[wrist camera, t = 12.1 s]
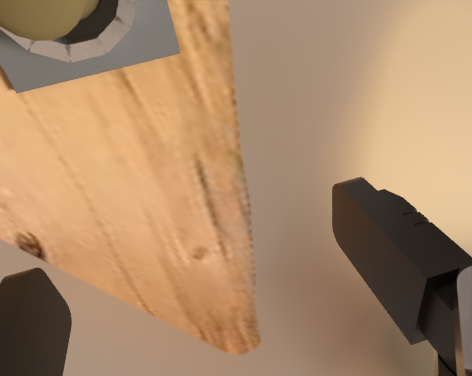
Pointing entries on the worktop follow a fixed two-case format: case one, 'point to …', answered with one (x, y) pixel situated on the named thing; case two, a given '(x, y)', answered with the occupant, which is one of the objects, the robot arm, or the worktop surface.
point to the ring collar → (84, 38)
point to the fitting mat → (121, 55)
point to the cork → (44, 17)
